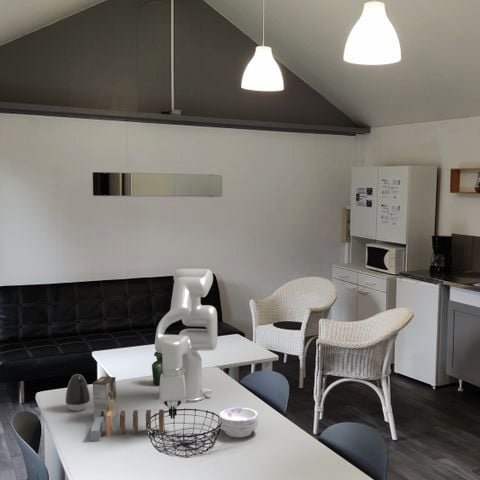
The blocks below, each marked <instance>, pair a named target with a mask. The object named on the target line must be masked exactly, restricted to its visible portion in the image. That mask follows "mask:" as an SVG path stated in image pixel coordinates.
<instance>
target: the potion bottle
mask: <svg viewBox="0 0 480 480" xmlns="http://www.w3.org/2000/svg"><path fill="white" fill-rule="evenodd" d="M153 356H154V357H156V361H153V363H152V364H151V371H152V381H153V382H152V383H153V386H155V387H160V377H161V374H163V357H162V353H158V352H157V351H155V352H154V354H153Z"/></svg>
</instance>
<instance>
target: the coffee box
mask: <svg viewBox="0 0 480 480" xmlns="http://www.w3.org/2000/svg"><path fill="white" fill-rule="evenodd" d="M116 382H117V381H116V376H101V377H99V378H97V379H96V380H95V381H93V382H92V399H93V401H92V402H93V406H92V407H93V421H95V419H96V417H104V422H106V415H107V412H108V411H112V418H114V417H115V416H116V415H117V389H116V388H117V386H116Z"/></svg>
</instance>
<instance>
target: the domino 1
mask: <svg viewBox="0 0 480 480" xmlns="http://www.w3.org/2000/svg"><path fill="white" fill-rule="evenodd" d="M105 422H106V423H105V424H106V437H111V436H112V434H113V417H112V411H108V412H107V415H106V421H105Z"/></svg>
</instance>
